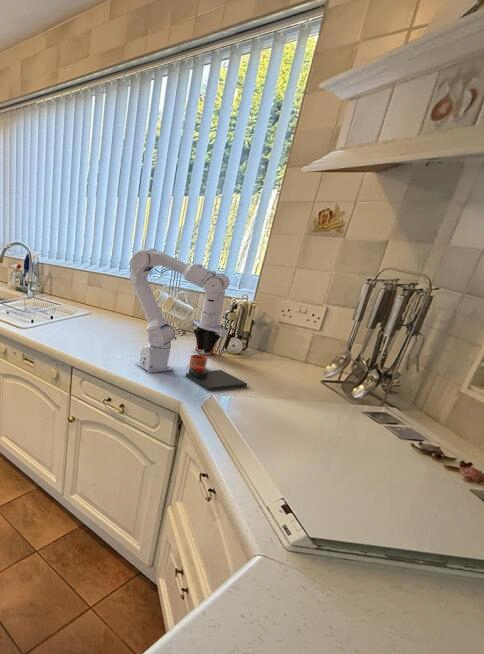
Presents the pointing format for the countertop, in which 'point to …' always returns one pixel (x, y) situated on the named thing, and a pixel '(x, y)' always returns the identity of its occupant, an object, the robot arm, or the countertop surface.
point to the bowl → (197, 361)
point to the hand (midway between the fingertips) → (204, 350)
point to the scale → (215, 379)
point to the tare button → (198, 368)
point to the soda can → (203, 350)
